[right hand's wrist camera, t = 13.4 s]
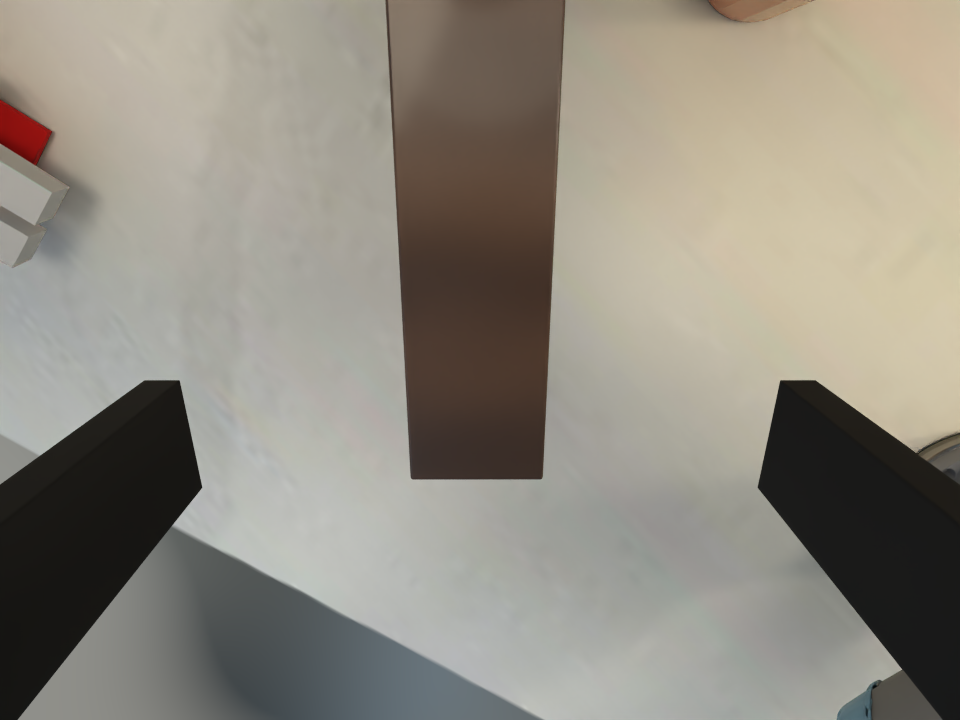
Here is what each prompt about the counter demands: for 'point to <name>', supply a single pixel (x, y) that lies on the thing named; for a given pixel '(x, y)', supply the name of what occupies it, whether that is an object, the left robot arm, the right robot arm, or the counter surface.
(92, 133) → the counter surface
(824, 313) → the counter surface
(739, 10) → the terracotta cup
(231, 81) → the counter surface
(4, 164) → the toy
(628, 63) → the counter surface
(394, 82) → the walnut box
